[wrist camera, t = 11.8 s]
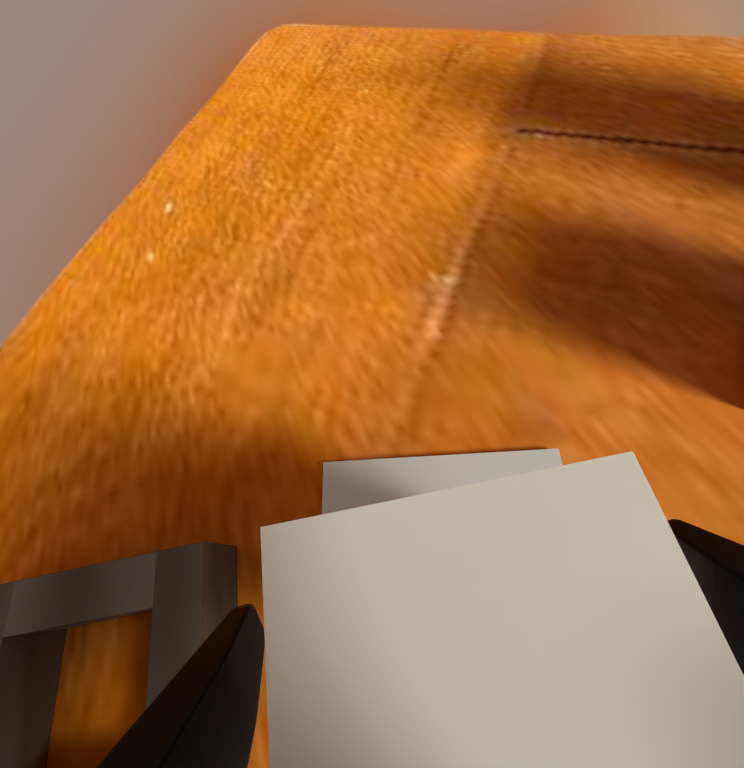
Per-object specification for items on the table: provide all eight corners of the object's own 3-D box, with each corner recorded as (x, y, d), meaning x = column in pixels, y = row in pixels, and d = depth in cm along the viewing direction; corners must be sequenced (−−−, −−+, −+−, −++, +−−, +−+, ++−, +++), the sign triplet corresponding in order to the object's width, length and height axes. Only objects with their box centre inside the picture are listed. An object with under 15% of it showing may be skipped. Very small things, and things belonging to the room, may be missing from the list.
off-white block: (494, 537, 17) (633, 451, 5) (536, 680, 14) (965, 1122, 3) (379, 559, 17) (259, 527, 5) (403, 703, 15) (285, 1197, 3)
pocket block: (236, 546, 19) (203, 542, 16) (241, 851, 14) (195, 916, 11) (35, 588, 19) (-30, 590, 16) (-24, 895, 14) (-129, 969, 12)
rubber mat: (554, 452, 18) (558, 448, 18) (645, 843, 13) (655, 855, 12) (326, 465, 20) (323, 462, 19) (315, 825, 14) (310, 835, 13)
